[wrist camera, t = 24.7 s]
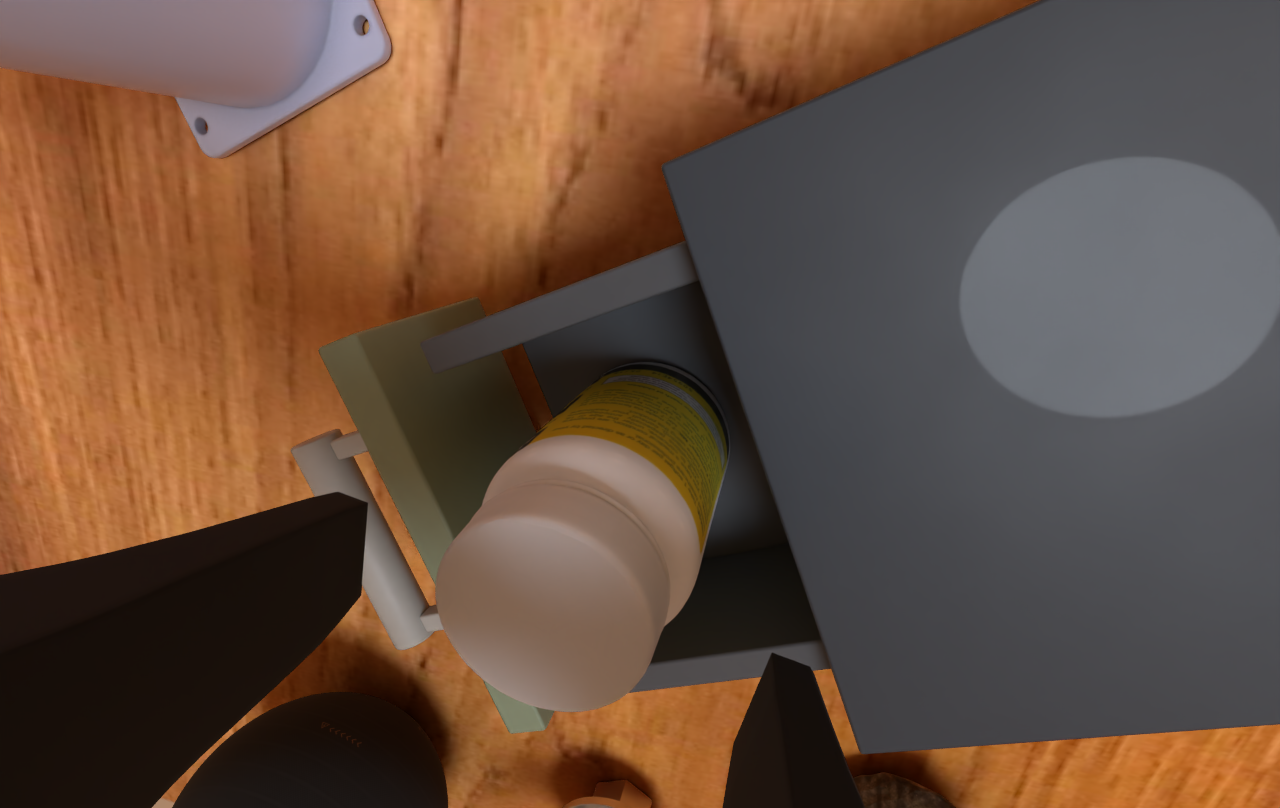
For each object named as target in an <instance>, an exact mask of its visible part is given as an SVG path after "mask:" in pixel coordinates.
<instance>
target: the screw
mask: <svg viewBox="0 0 1280 808" xmlns="http://www.w3.org/2000/svg"><path fill="white" fill-rule="evenodd" d="M651 804H652V800H651V799H650V798H649V797H648V796H646V795H645V794H644V793H643V792H641V791H640V790H639V789H638V788H636V787H635V786H634V785H633V784H631V783H630V782H629V781H628V780H618V781H608V782H598V783H597V785H596V788H595V791H594V794H593V797H582V798H579V799H575V800H572V801H571V802H569V803H567V804H566V805H564V806H563V808H651Z"/></svg>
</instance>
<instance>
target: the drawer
mask: <svg viewBox="0 0 1280 808" xmlns="http://www.w3.org/2000/svg"><path fill="white" fill-rule="evenodd" d="M520 344H523V347H524V349H525V351H526V354H527V356H528V359H529V361H530V363H531V366H532V368H533V371H534V373H535V375H536V378H537V380H538V382H539V385H540V387H541V390H542V392H543V394H544V397H545V399H546V402H547V404H548V406H549V409H550V411H551V414H552V416H553V418H554V417H555V416H556V415H557V414H558V413H559V412H560V411H561V410H562V409H563V408H564V407H566V406H567V405H568V404H569V403H570V402H571V401H572V400H574V399H575V398H576V397H577V396H578V395H579V394H580V393H581V392H582V391H583V390H584V389H586V388H587V387H588V386H589V385H590V384H591V383H592V382H594V381H595V380H596V379H597V378H599V377H600V376H601V375H603V374H604V373H606V372H608V371H610V370H612V369H614V368H616V367H619V366H622V365H625V364H630V363H637V362H653V363H661V364H665V365H669V366H672V367H675V368H678V369H680V370H682V371H684V372H686V373H688V374H690V375H691V376H693V377H694V378H696V379H697V380H699V381H700V382H701V383H702V384H703V385H704V386H705V387H706V388H707V389H708V390H709V391H710V392H711V393H712V394H713V395H714V397H715V398H716V400H717V401H718V403H719V404H720V406H721V408H722V410H723V412H724V415H725V417H726V420H727V424H728V428H729V435H730V455H729V462H728V466H727V469H726V472H725V476H724V480H723V483H722V487H721V490H720V494H719V498H718V501H717V505H716V508H715V512H714V516H713V519H712V523H711V527H710V530H709V534H708V538H707V542H706V546H705V549H704V553H703V557H702V561H701V565H700V569H699V573H698V576H697V579H696V582H695V585H694V587H693V590H692V592H691V594H690V596H689V598H688V600H687V601H686V603H685V605H684V606H683V608H682V609H681V611H680V612H679V613H678V614H677V615H676V616H675V617H674V618H673V619H672V620H671V621H670V622H669V623H668V624H667V625H665V626H664V628H663V630H662V632H661V635H660V637H659V640H658V643H657V646H656V648H655V651H654V654H653V657H652V660H651V662H650V664H649V666H648V668H647V670H646V672H645V674H644V675H643V677H642V678H641V679H640V681H639V682H638V683H637V684H636V686H635V687H634V688H633V689H632V690H631V691H630V692H629V693H631V692H639V691H648V690H656V689H664V688H673V687H681V686H689V685H698V684H706V683H714V682H723V681H731V680H739V679H748V678H756V677H762V675H763V672H764V670H765V667H766V665H767V663H768V660H769V658H770V655H771V653H775V654H778V655H780V656H783V657H786V658H788V659H791V660H794V661H796V662H799V663H802V664H804V665H807V666H810V667H811V669H812V671H814V670H823V669H831V666H830V663H829V660H828V657H827V654H826V651H825V648H824V645H823V643H822V640H821V637H820V634H819V631H818V628H817V625H816V622H815V619H814V616H813V613H812V610H811V607H810V604H809V601H808V598H807V596H806V593H805V590H804V587H803V584H802V581H801V578H800V575H799V572H798V569H797V566H796V563H795V560H794V557H793V554H792V551H791V549H790V546H789V543H788V540H787V537H786V534H785V531H784V528H783V525H782V522H781V519H780V516H779V513H778V510H777V507H776V504H775V502H774V499H773V496H772V493H771V490H770V487H769V484H768V481H767V478H766V475H765V472H764V469H763V466H762V463H761V460H760V457H759V454H758V452H757V449H756V446H755V443H754V440H753V437H752V434H751V431H750V428H749V425H748V422H747V419H746V416H745V413H744V410H743V407H742V405H741V402H740V399H739V396H738V393H737V390H736V387H735V384H734V381H733V378H732V375H731V372H730V369H729V366H728V363H727V360H726V358H725V355H724V352H723V349H722V346H721V343H720V340H719V337H718V334H717V331H716V328H715V325H714V322H713V319H712V316H711V313H710V311H709V308H708V305H707V302H706V299H705V296H704V293H703V290H702V287H701V284H700V281H699V278H698V275H697V272H696V269H695V266H694V263H693V261H692V258H691V255H690V252H689V249H688V246H687V243H686V240H685V241H683V242H680V243H677V244H675V245H672V246H670V247H667V248H664V249H662V250H659V251H657V252H654V253H651V254H649V255H646V256H643V257H641V258H638V259H636V260H633V261H630V262H628V263H625V264H623V265H620V266H617V267H615V268H612V269H609V270H607V271H604V272H602V273H599V274H596V275H594V276H591V277H589V278H586V279H583V280H581V281H578V282H575V283H573V284H570V285H568V286H565V287H562V288H560V289H557V290H555V291H552V292H549V293H547V294H544V295H541V296H539V297H536V298H534V299H531V300H528V301H526V302H523V303H521V304H518V305H515V306H513V307H510V308H507V309H505V310H502V311H500V312H497V313H494V314H492V315H489V316H486V314H485V312H484V309H483V307H482V305H481V302H480V300H479V298H478V297H474V298H470V299H467V300H464V301H460V302H457V303H454V304H450V305H447V306H444V307H440V308H437V309H434V310H430V311H427V312H424V313H421V314H417V315H414V316H411V317H407V318H404V319H401V320H397V321H394V322H391V323H387V324H384V325H381V326H377V327H374V328H371V329H367V330H364V331H361V332H357V333H354V334H352V335H349V336H347V337H344V338H342V339H339V340H337V341H334V342H332V343H329V344H327V345H324V346H322V347H321V348H320V349H319V353H320V355H321V357H322V359H323V361H324V363H325V365H326V367H327V369H328V371H329V373H330V375H331V377H332V379H333V381H334V383H335V385H336V387H337V389H338V391H339V393H340V395H341V397H342V399H343V401H344V403H345V405H346V407H347V409H348V411H349V413H350V415H351V417H352V419H353V421H354V423H355V425H356V427H357V429H358V430H357V431H354V432H351V433H348V434H345V435H342V433H341V431H340V430H339V429H335V430H331V431H328V432H326V433H323V434H321V435H318V436H316V437H313V438H311V439H309V440H306V441H304V442H302V443H300V444H298V445H296V446H294V447H293V448H291V452H292V454H293V456H294V458H295V460H296V462H297V464H298V466H299V467H300V469H301V471H302V473H303V475H304V477H305V479H306V481H307V482H308V484H309V486H310V488H311V490H312V492H313V494H314V496H315V497H316V496H320V495H324V494H329V493H333V492H341V493H343V494H346V495H349V496H351V497H354V498H357V499H360V500H362V501H365V502H368V512H367V525H366V538H365V551H364V564H363V577H362V586H363V588H364V590H365V591H366V593H367V595H368V597H369V599H370V601H371V603H372V605H373V606H374V608H375V610H376V612H377V614H378V616H379V618H380V620H381V622H382V623H383V625H384V627H385V629H386V631H387V633H388V635H389V637H390V638H391V640H392V642H393V644H394V646H395V648H396V649H398V650H405V649H409V648H412V647H414V646H416V645H418V644H420V643H421V642H423V641H424V640H426V639H427V638H428V637H429V636H431V635H432V634H433V632H434V631H437V630H443V629H444V628H443V626H442V623H441V620H440V617H439V614H438V609H437V605H433V606H429V604H428V602H427V600H426V598H425V596H424V594H423V592H422V590H421V588H420V586H419V584H418V583H417V581H416V579H415V577H414V575H413V573H412V571H411V569H410V567H409V565H408V563H407V561H406V559H405V557H404V555H403V553H402V551H401V549H400V547H399V545H398V543H397V541H396V539H395V537H394V535H393V533H392V531H391V529H390V527H389V525H388V523H387V521H386V519H385V518H384V516H383V514H382V512H381V510H380V508H379V506H378V504H377V502H376V500H375V498H374V496H373V494H372V492H371V490H370V488H369V486H368V484H367V482H366V480H365V478H364V476H363V474H362V472H361V470H360V468H359V466H358V464H357V462H356V460H355V458H354V455H358V454H361V453H364V452H367V451H369V453H370V455H371V457H372V459H373V461H374V463H375V465H376V467H377V469H378V471H379V473H380V475H381V477H382V479H383V481H384V483H385V485H386V487H387V489H388V491H389V493H390V495H391V497H392V499H393V501H394V503H395V505H396V507H397V509H398V511H399V513H400V515H401V517H402V519H403V521H404V523H405V525H406V527H407V529H408V531H409V533H410V535H411V537H412V539H413V541H414V543H415V545H416V547H417V549H418V551H419V553H420V555H421V557H422V559H423V561H424V563H425V565H426V567H427V569H428V571H429V573H430V575H431V577H432V579H433V581H434V583H435V585H436V577H437V573H438V568H439V565H440V562H441V560H442V558H443V556H444V554H445V552H446V550H447V549H448V547H449V546H450V544H451V543H452V541H453V540H454V539H455V538H456V537H457V536H458V535H459V533H460V532H461V531H462V530H463V529H464V528H465V527H466V525H467V524H468V523H469V522H470V521H471V519H472V517H473V516H474V515H475V513H476V512H477V511H478V510H479V509H480V508H481V507H482V503H483V499H484V497H485V494H486V491H487V489H488V487H489V485H490V483H491V481H492V479H493V478H494V476H495V474H496V473H497V472H498V471H499V469H500V468H501V467H502V466H503V464H504V463H505V462H506V461H507V460H508V458H509V457H511V456H512V455H513V454H514V453H515V452H516V451H517V450H518V449H519V448H520V447H521V446H522V445H524V444H525V443H526V442H527V441H528V440H529V439H530V438H531V437H532V436H533V435H534V434H536V431H535V429H534V426H533V424H532V422H531V419H530V417H529V415H528V412H527V410H526V408H525V405H524V403H523V401H522V398H521V396H520V394H519V391H518V389H517V387H516V384H515V382H514V380H513V377H512V375H511V373H510V370H509V368H508V366H507V363H506V361H505V359H504V356H503V354H502V351H503V350H505V349H508V348H511V347H514V346H517V345H520ZM483 681H484V680H483ZM484 683H485V685H486V687H487V689H488V691H489V693H490V695H491V697H492V699H493V701H494V703H495V705H496V707H497V709H498V711H499V713H500V715H501V717H502V719H503V721H504V723H505V725H506V727H507V729H508V731H509V732H510V733H522V732H532V731H542V730H545V729H546V728H547V726H548V723H549V721H550V719H551V717H552V715H553V713H554V711H553V710H548V709H543V708H538V707H535V706H531V705H528V704H525V703H523V702H520V701H518V700H515V699H513V698H511V697H509V696H507V695H505V694H504V693H502V692H500V691H499V690H497V689H496V688H494V687H493V686H491V685H490V684H489V683H487V682H486V681H484Z"/></svg>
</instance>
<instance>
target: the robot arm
mask: <svg viewBox="0 0 1280 808" xmlns="http://www.w3.org/2000/svg"><path fill="white" fill-rule="evenodd" d="M366 19H367V20H368V22H369V31H368V33H367V34H366V35H364V33H363V29H362V27H363V23H364V21H365V20H366ZM390 54H391V42H390V38H389V36H388V33H387V31H386V29H385V26H384V24H383V21H382V19H381V17H380V14H379V12H378V10H377V7H376V5H375V2H374V0H0V68H4V69H10V70H16V71H22V72H28V73H34V74H40V75H46V76H52V77H58V78H64V79H70V80H76V81H82V82H88V83H94V84H100V85H106V86H112V87H118V88H124V89H130V90H136V91H142V92H148V93H154V94H160V95H166V96H172V97H175V99H176V101H177V103H178V105H179V107H180V109H181V111H182V113H183V115H184V117H185V119H186V121H187V123H188V125H189V127H190V129H191V131H192V133H193V135H194V137H195V139H196V140H197V142H198V144H199V146H200V148H201V150H202V151H203V153H204V154H206V155H207V156H208V157H212V158H225V157H227V156H229V155H230V154H232V153H234V152H235V151H237V150H239V149H240V148H242V147H244V146H246V145H247V144H249V143H251V142H252V141H254V140H256V139H257V138H259V137H261V136H262V135H264V134H266V133H268V132H269V131H271V130H273V129H274V128H276V127H278V126H279V125H281V124H283V123H284V122H286V121H288V120H289V119H291V118H293V117H295V116H296V115H298V114H300V113H301V112H303V111H305V110H306V109H308V108H310V107H311V106H313V105H315V104H317V103H318V102H320V101H322V100H323V99H325V98H327V97H328V96H330V95H332V94H333V93H335V92H337V91H338V90H340V89H342V88H344V87H345V86H347V85H349V84H350V83H352V82H354V81H355V80H357V79H359V78H360V77H362V76H364V75H366V74H367V73H369V72H371V71H372V70H374V69H376V68H377V67H379V66H381V65H382V64H384V63H385V62H386V61H387V60H388V59H389V57H390ZM206 123H207V126H208V131H207V130H206V127H205V125H206ZM367 512H368V502H365V501H362V500H360V499H357V498H354V497H351V496H349V495H346V494H343V493H341V492H333V493H329V494H324V495H320V496H316V497H312V498H309V499H305V500H301V501H298V502H294V503H291V504H287V505H284V506H280V507H277V508H273V509H270V510H266V511H263V512H259V513H256V514H253V515H249V516H246V517H242V518H239V519H235V520H231V521H228V522H224V523H221V524H217V525H214V526H210V527H207V528H203V529H200V530H196V531H193V532H189V533H185V534H181V535H177V536H173V537H169V538H165V539H162V540H158V541H154V542H150V543H146V544H142V545H138V546H134V547H130V548H126V549H122V550H118V551H114V552H110V553H106V554H102V555H97V556H93V557H89V558H84V559H79V560H75V561H70V562H65V563H61V564H56V565H51V566H45V567H40V568H35V569H30V570H24V571H19V572H14V573H9V574H4V575H0V808H152V807H153V806H154V804H155V803H156V802H157V801H158V800H159V799H160V798H161V797H162V796H163V795H164V793H165V792H166V791H167V790H168V789H169V788H170V787H171V786H172V785H173V784H174V783H175V782H176V781H177V780H178V779H179V778H180V777H181V776H182V775H183V774H184V773H185V772H186V771H187V770H188V769H189V768H190V767H191V766H192V765H193V764H194V763H195V762H196V761H197V760H198V759H199V758H200V757H201V756H202V755H203V754H204V753H205V752H206V751H207V750H208V749H209V748H210V747H212V746H213V745H214V744H215V743H216V742H217V741H218V740H219V739H220V738H221V737H222V736H223V735H224V734H225V733H227V732H228V731H229V730H230V729H231V728H232V727H233V726H234V725H235V724H236V723H237V722H238V721H239V720H240V719H242V718H243V717H244V716H245V715H246V714H247V713H248V712H249V711H250V710H251V709H252V708H253V707H254V706H255V705H257V704H258V703H259V702H260V701H261V700H262V699H263V698H264V697H265V696H266V695H267V694H268V693H269V692H270V691H272V690H273V689H274V688H275V687H276V686H277V685H278V684H279V683H280V682H281V681H282V680H283V679H284V678H285V677H286V676H288V675H289V674H290V673H291V672H292V671H293V670H294V669H295V668H296V667H297V666H298V665H299V664H300V663H301V662H302V661H303V660H304V659H305V658H307V657H308V656H309V655H310V654H311V653H312V652H313V651H314V650H315V649H316V648H317V647H318V646H319V645H320V644H321V643H322V642H323V640H324V639H325V638H326V637H327V636H328V635H329V633H330V632H331V631H332V630H333V629H334V628H335V627H336V625H337V624H338V623H339V622H340V621H341V619H342V618H343V617H344V616H345V615H346V613H347V612H348V611H349V610H350V608H351V607H352V606H353V605H354V603H355V602H356V601H357V600H358V599H359V597H360V596H361V590H362V577H363V564H364V551H365V538H366V525H367ZM723 808H865V805H864V803H863V801H862V798H861V796H860V793H859V791H858V789H857V786H856V784H855V782H854V779H853V777H852V774H851V772H850V770H849V767H848V765H847V762H846V760H845V757H844V755H843V752H842V749H841V747H840V744H839V742H838V739H837V736H836V734H835V731H834V728H833V726H832V723H831V720H830V718H829V715H828V712H827V709H826V707H825V704H824V701H823V698H822V695H821V692H820V690H819V687H818V684H817V681H816V678H815V675H814V673H813V671H812V669H811V667H810V666H807V665H804V664H802V663H799V662H796V661H794V660H791V659H788V658H786V657H783V656H780V655H778V654H775V653H771V655H770V658H769V660H768V663H767V665H766V667H765V670H764V672H763V675H762V677H761V679H760V682H759V684H758V686H757V689H756V691H755V694H754V696H753V698H752V701H751V703H750V706H749V708H748V710H747V713H746V715H745V718H744V720H743V722H742V725H741V727H740V729H739V732H738V734H737V737H736V739H735V741H734V744H733V750H732V756H731V761H730V767H729V773H728V778H727V784H726V790H725V797H724V803H723Z"/></svg>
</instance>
